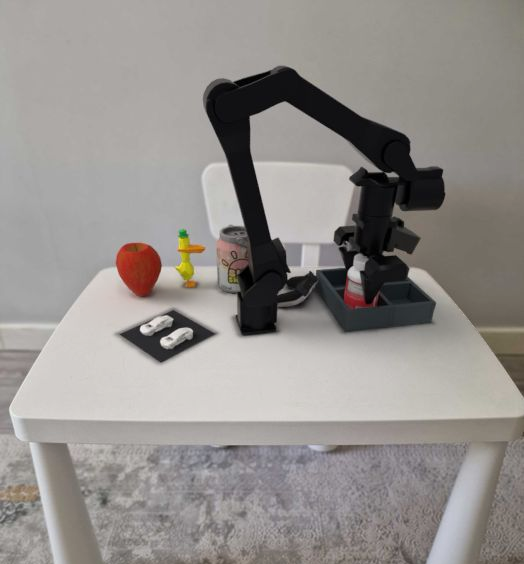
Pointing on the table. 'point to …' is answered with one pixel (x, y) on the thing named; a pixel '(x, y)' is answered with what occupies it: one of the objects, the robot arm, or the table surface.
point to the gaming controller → (297, 290)
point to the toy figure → (187, 257)
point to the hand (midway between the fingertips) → (361, 295)
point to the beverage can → (231, 257)
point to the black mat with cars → (167, 335)
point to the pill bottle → (356, 285)
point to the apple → (138, 267)
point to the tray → (390, 306)
